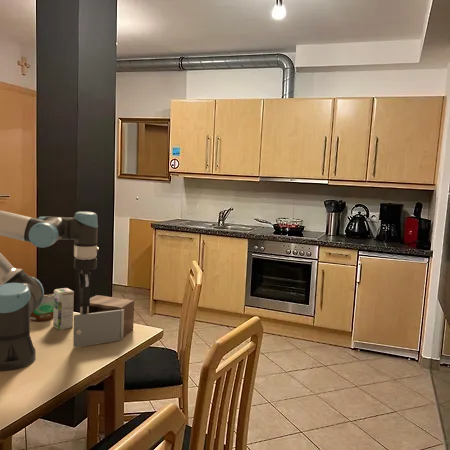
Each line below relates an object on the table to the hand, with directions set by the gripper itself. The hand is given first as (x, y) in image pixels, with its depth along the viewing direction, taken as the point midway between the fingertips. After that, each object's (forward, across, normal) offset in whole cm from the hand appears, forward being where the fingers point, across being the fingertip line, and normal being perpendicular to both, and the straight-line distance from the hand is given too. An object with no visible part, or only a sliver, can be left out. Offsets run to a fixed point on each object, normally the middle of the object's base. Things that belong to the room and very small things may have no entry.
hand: (84, 323), depth 157 cm
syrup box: (+8, +19, +6) cm, 21 cm away
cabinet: (+7, +9, -10) cm, 15 cm away
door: (+7, -2, -5) cm, 9 cm away
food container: (+8, +29, +12) cm, 32 cm away
